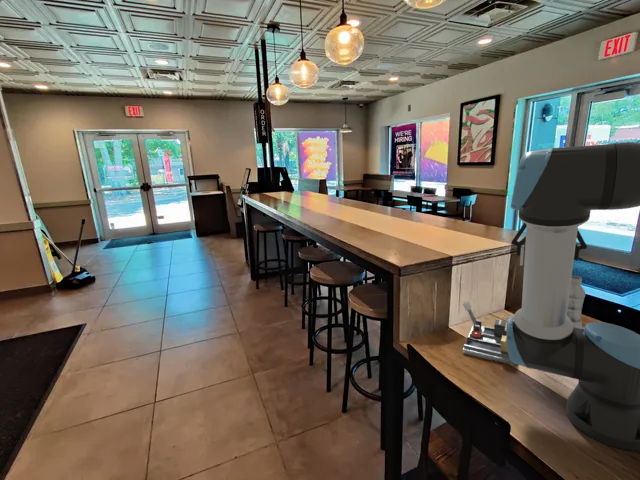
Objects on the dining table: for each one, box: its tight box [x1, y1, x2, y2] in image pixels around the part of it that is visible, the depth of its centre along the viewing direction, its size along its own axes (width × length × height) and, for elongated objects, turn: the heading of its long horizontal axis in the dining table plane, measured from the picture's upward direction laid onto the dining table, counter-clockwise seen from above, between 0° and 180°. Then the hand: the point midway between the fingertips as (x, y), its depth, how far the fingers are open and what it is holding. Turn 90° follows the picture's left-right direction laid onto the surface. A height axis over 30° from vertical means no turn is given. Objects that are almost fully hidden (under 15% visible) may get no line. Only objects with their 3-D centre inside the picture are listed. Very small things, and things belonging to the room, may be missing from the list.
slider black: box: [493, 319, 507, 337], centre depth 109 cm, size 4×3×5 cm
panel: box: [462, 319, 517, 366], centre depth 107 cm, size 18×15×4 cm
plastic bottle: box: [566, 275, 586, 329], centre depth 109 cm, size 6×7×20 cm
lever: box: [462, 300, 479, 325], centre depth 114 cm, size 2×2×10 cm
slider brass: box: [500, 335, 508, 354], centre depth 100 cm, size 4×3×5 cm
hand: (545, 266), depth 106 cm, fingers open, 13 cm apart
